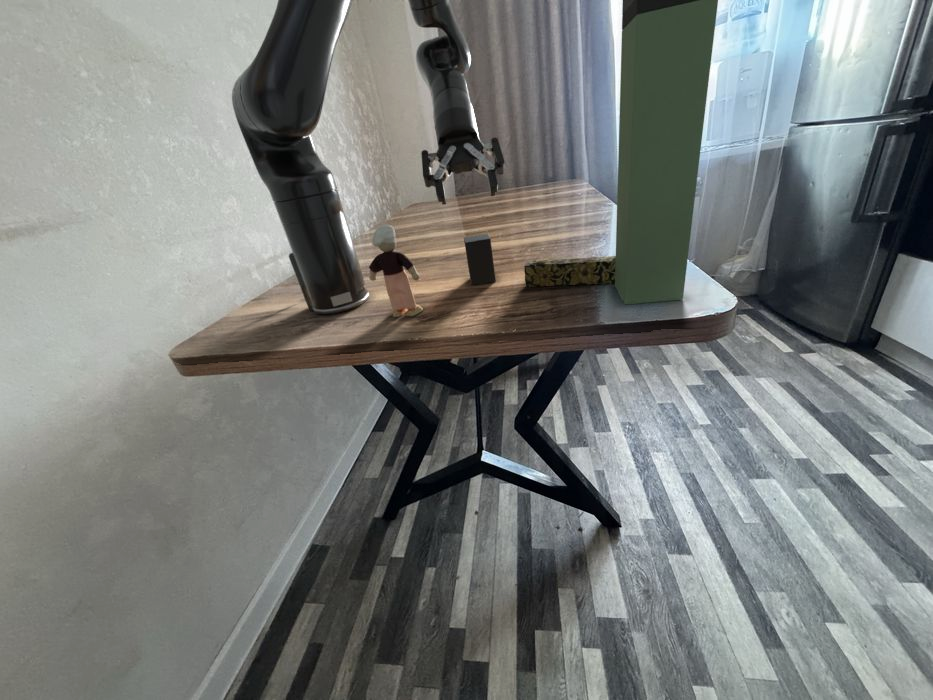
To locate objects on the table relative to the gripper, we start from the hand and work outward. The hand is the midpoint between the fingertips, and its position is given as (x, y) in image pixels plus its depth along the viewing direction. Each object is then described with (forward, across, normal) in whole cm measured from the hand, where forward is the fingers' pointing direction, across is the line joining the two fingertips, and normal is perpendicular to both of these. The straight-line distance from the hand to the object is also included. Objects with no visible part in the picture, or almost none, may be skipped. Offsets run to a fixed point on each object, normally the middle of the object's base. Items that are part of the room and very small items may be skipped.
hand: (468, 197), depth 66 cm
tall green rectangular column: (+26, +20, -9) cm, 34 cm away
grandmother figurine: (+21, -13, -4) cm, 25 cm away
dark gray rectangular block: (+14, 0, +3) cm, 15 cm away
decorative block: (+21, +13, -3) cm, 25 cm away
